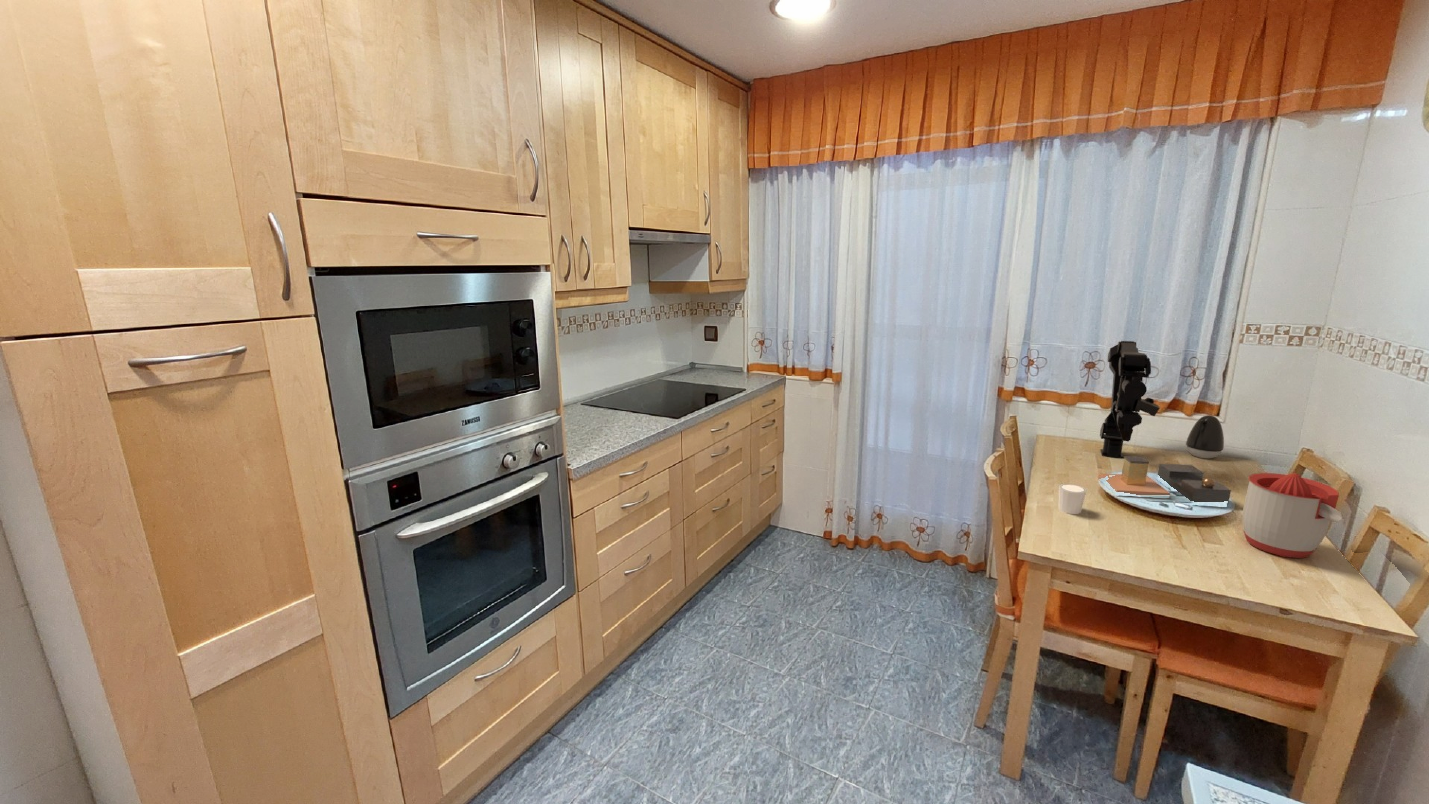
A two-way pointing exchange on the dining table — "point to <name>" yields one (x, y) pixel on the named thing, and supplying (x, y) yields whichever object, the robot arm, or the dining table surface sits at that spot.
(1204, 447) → the dark grey egg shape
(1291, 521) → the citrus juicer
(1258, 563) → the dining table surface
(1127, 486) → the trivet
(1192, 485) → the body
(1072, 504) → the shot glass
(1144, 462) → the tan wooden block
